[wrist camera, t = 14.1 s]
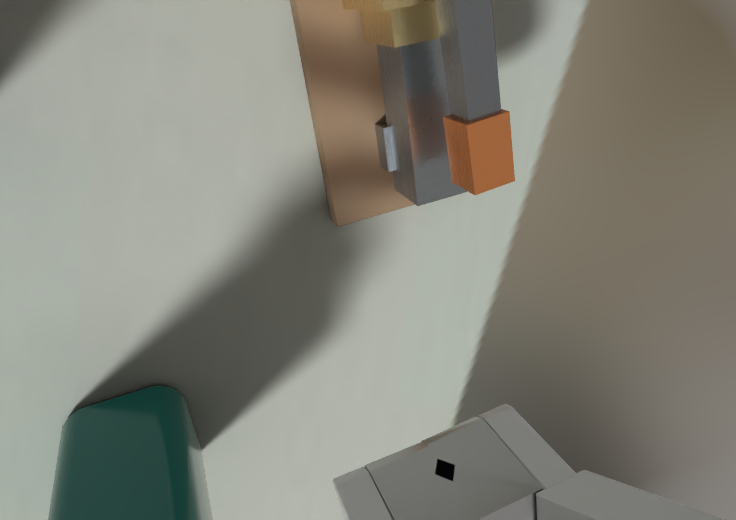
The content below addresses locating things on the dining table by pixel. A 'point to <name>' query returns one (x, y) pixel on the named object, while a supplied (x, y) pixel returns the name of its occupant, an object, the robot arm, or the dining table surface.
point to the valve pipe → (410, 95)
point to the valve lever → (473, 97)
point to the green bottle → (131, 461)
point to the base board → (345, 109)
